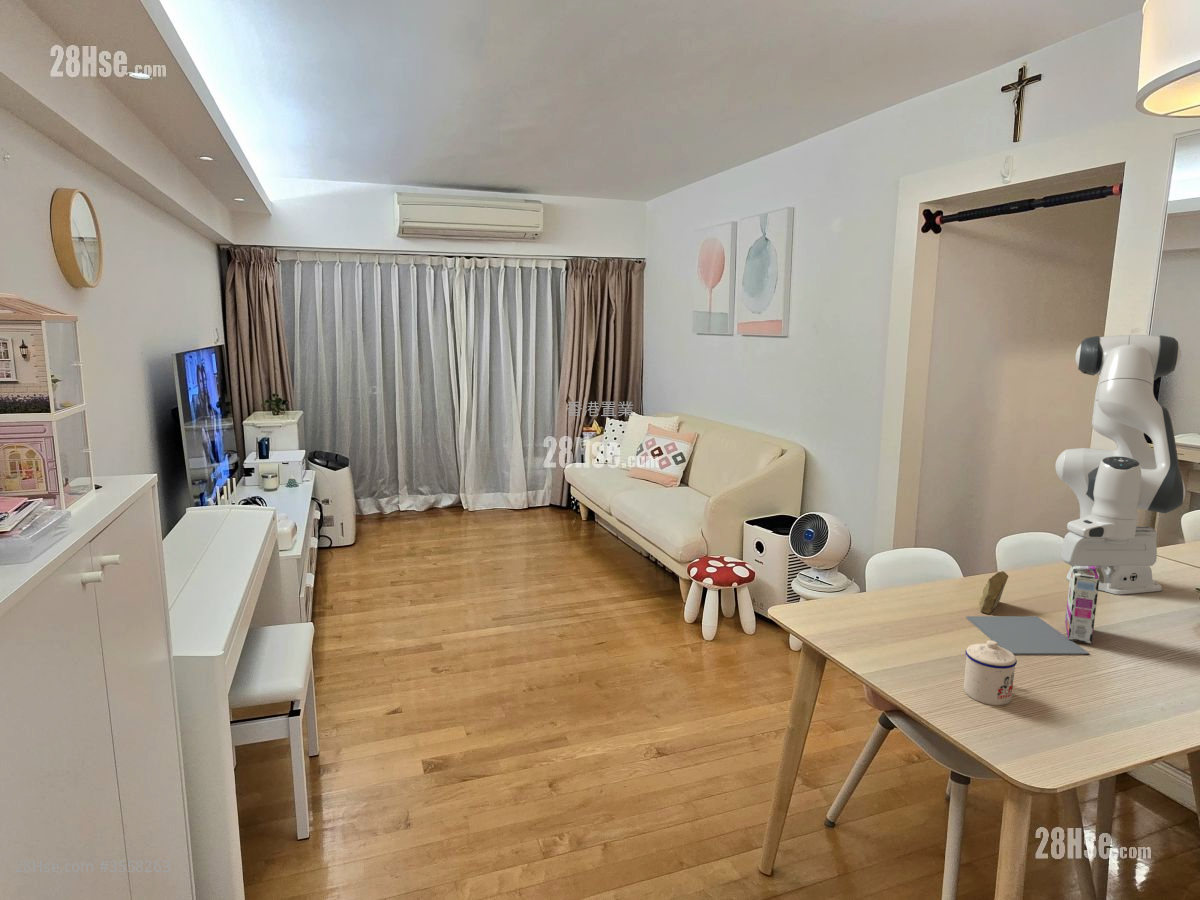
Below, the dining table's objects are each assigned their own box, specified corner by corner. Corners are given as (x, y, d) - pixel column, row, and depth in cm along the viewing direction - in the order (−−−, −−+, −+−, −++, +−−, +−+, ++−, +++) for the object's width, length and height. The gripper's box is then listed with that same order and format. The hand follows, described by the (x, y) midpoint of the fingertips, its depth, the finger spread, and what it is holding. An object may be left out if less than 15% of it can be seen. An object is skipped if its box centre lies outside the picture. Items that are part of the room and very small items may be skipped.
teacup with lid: (1006, 712, 135) (1012, 657, 133) (956, 695, 141) (961, 642, 139) (1020, 688, 144) (1026, 635, 142) (972, 673, 150) (977, 623, 148)
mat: (1036, 617, 177) (1037, 616, 177) (1089, 654, 157) (1089, 653, 157) (965, 617, 178) (966, 616, 177) (1009, 654, 158) (1009, 653, 158)
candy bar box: (1093, 644, 161) (1100, 578, 158) (1067, 640, 164) (1074, 575, 160) (1088, 625, 170) (1095, 562, 167) (1064, 621, 173) (1070, 559, 170)
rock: (997, 611, 176) (1024, 599, 179) (979, 580, 179) (1005, 569, 182) (967, 621, 185) (993, 610, 189) (950, 591, 188) (976, 580, 192)
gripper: (1147, 522, 165) (1139, 577, 167) (1060, 522, 165) (1054, 577, 167) (1168, 530, 158) (1159, 587, 161) (1077, 530, 159) (1071, 587, 161)
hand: (1105, 582), depth 164 cm, fingers closed
